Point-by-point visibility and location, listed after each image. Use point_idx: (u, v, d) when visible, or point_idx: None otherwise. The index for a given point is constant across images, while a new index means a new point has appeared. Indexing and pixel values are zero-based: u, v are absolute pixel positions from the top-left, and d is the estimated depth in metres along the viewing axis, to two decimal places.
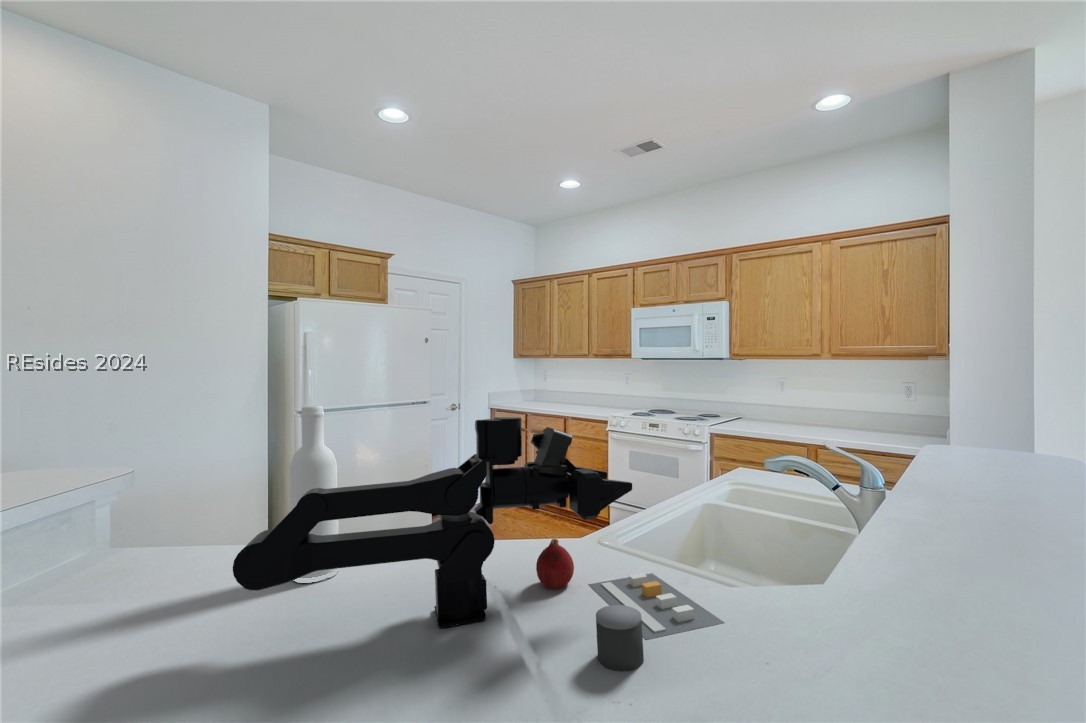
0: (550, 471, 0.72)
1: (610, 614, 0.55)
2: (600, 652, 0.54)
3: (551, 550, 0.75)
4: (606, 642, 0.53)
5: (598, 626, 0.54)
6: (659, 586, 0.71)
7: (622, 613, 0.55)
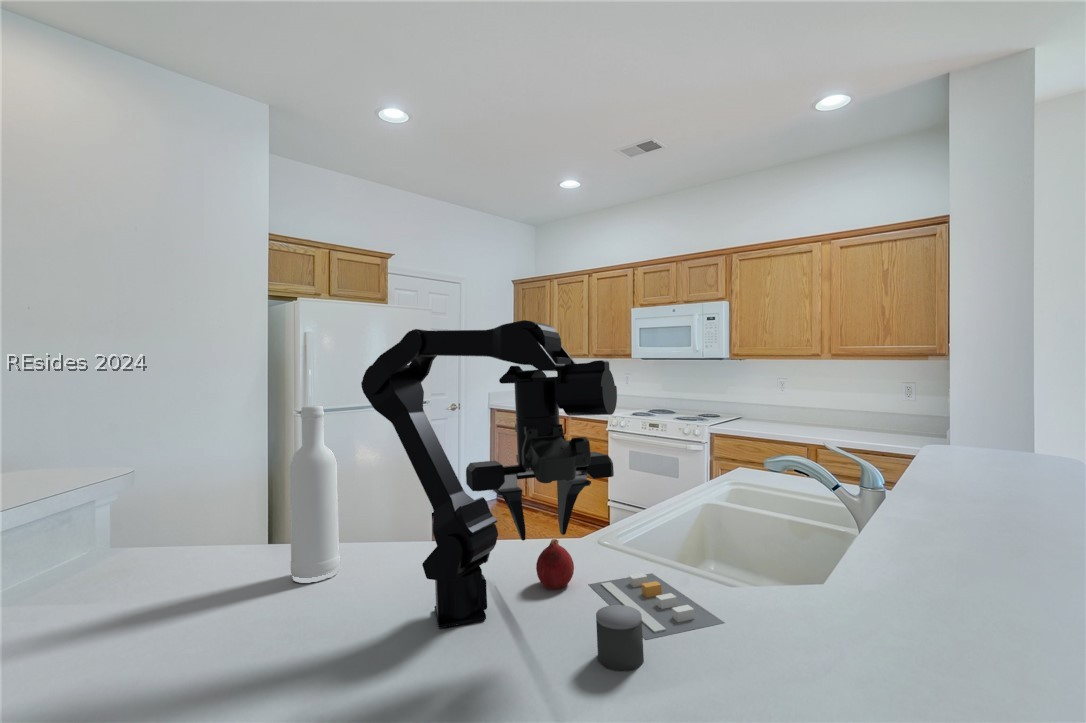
0: (522, 448, 0.62)
1: (610, 614, 0.55)
2: (600, 652, 0.54)
3: (551, 550, 0.75)
4: (606, 642, 0.53)
5: (598, 626, 0.54)
6: (659, 586, 0.71)
7: (622, 613, 0.55)
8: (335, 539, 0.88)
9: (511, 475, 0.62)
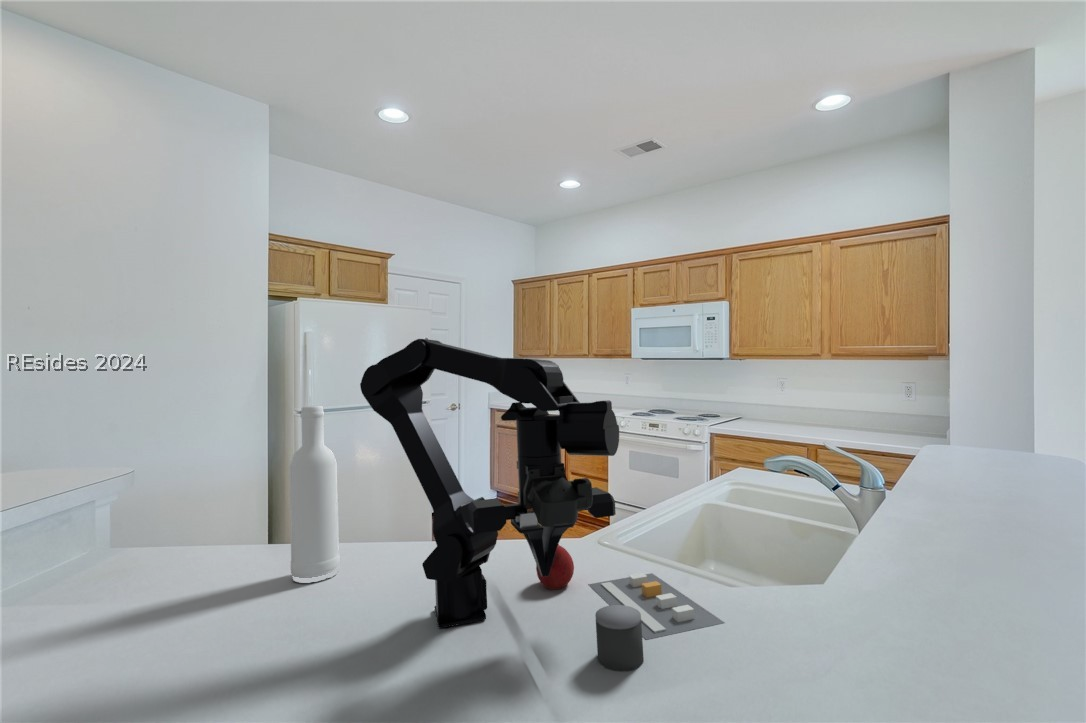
0: (524, 488, 0.62)
1: (610, 614, 0.55)
2: (600, 652, 0.54)
3: None
4: (606, 642, 0.53)
5: (598, 626, 0.54)
6: (659, 586, 0.71)
7: (621, 613, 0.55)
8: (335, 539, 0.88)
9: (532, 513, 0.62)
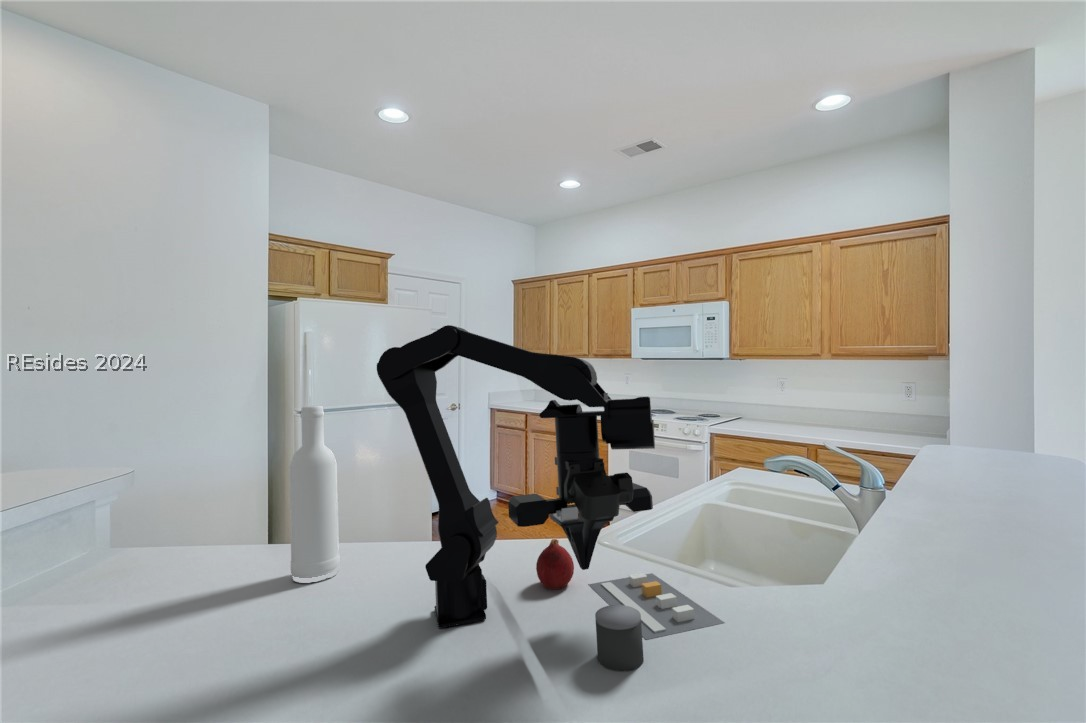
0: (565, 482, 0.63)
1: (609, 614, 0.55)
2: (600, 652, 0.54)
3: (551, 550, 0.75)
4: (605, 642, 0.53)
5: (597, 626, 0.54)
6: (659, 586, 0.71)
7: (621, 613, 0.55)
8: (335, 539, 0.88)
9: (573, 507, 0.64)
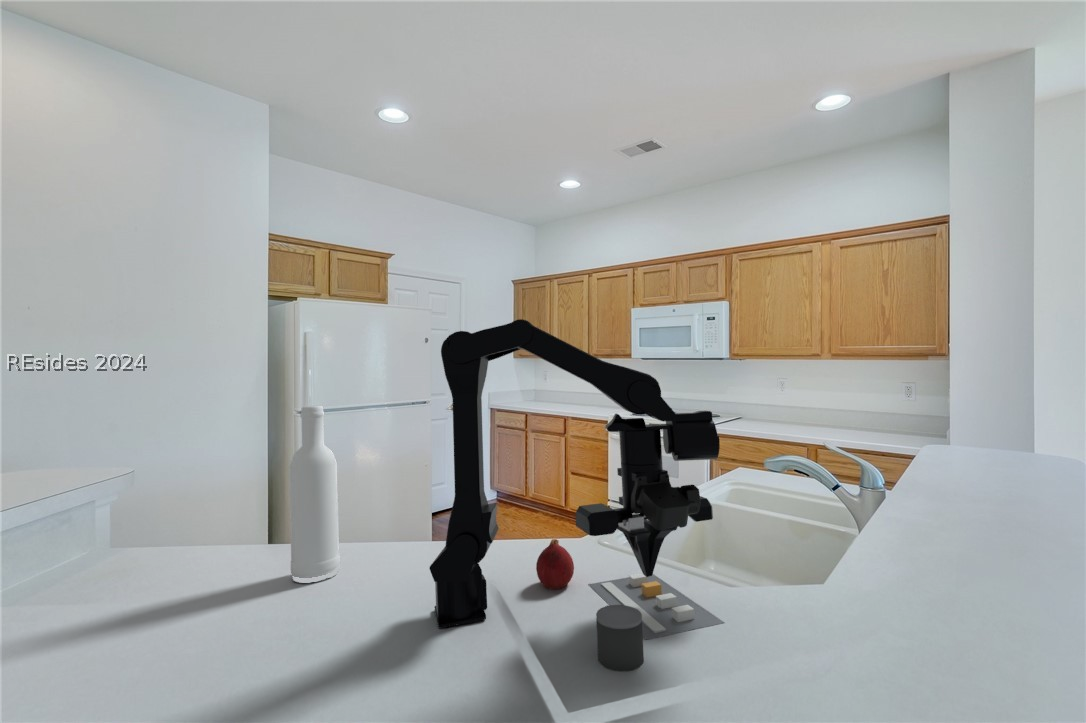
0: (632, 493, 0.66)
1: (610, 613, 0.55)
2: (600, 652, 0.54)
3: (551, 550, 0.75)
4: (606, 641, 0.53)
5: (598, 625, 0.54)
6: (659, 586, 0.71)
7: (622, 613, 0.55)
8: (335, 539, 0.88)
9: (640, 517, 0.67)
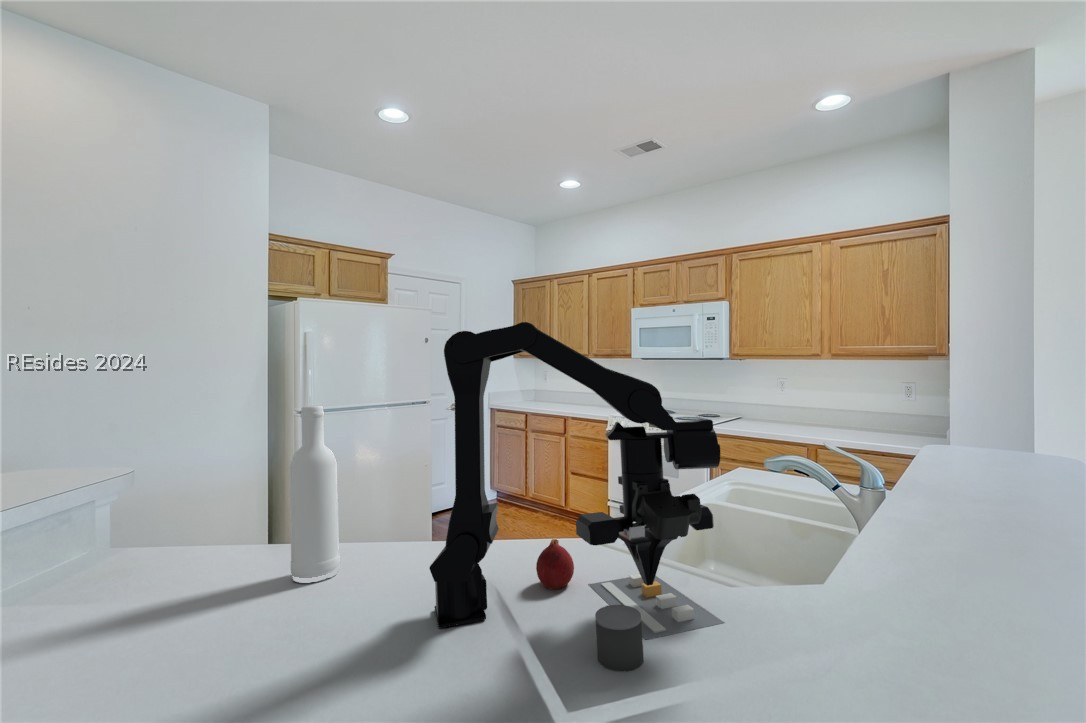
0: (633, 502, 0.66)
1: (610, 614, 0.55)
2: (599, 652, 0.54)
3: (551, 550, 0.75)
4: (605, 642, 0.53)
5: (597, 626, 0.54)
6: (659, 586, 0.71)
7: (621, 613, 0.55)
8: (335, 539, 0.88)
9: (640, 526, 0.66)
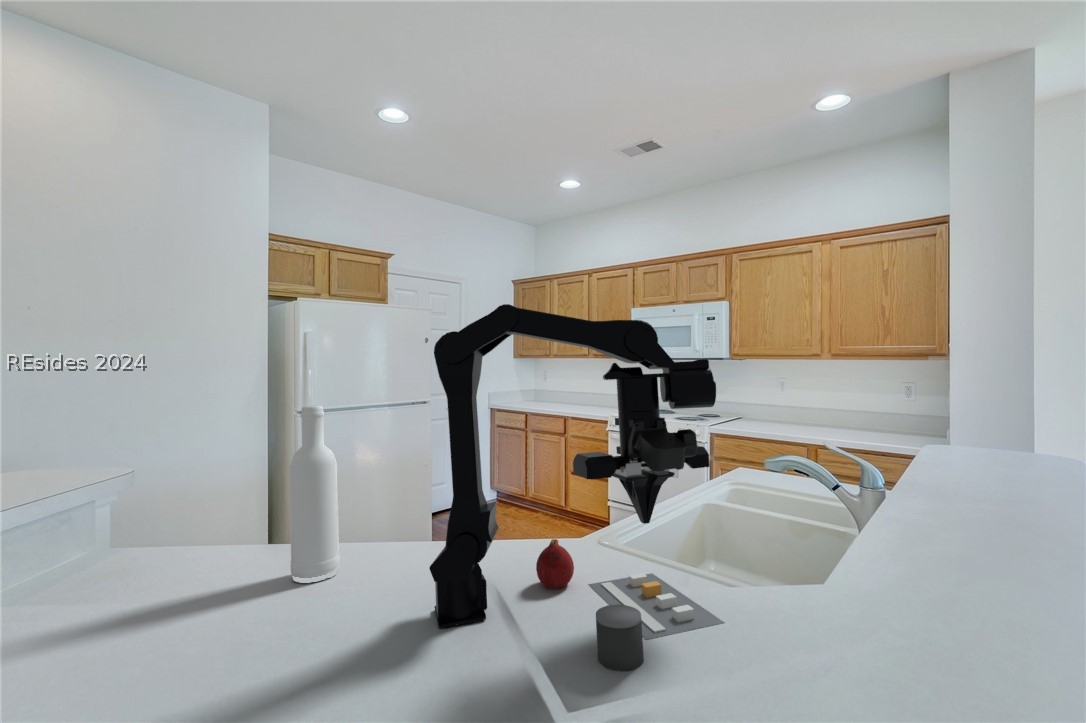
0: (629, 439, 0.67)
1: (610, 613, 0.55)
2: (599, 651, 0.54)
3: (551, 550, 0.75)
4: (605, 641, 0.53)
5: (597, 625, 0.54)
6: (659, 586, 0.71)
7: (622, 613, 0.55)
8: (335, 539, 0.88)
9: (637, 463, 0.67)
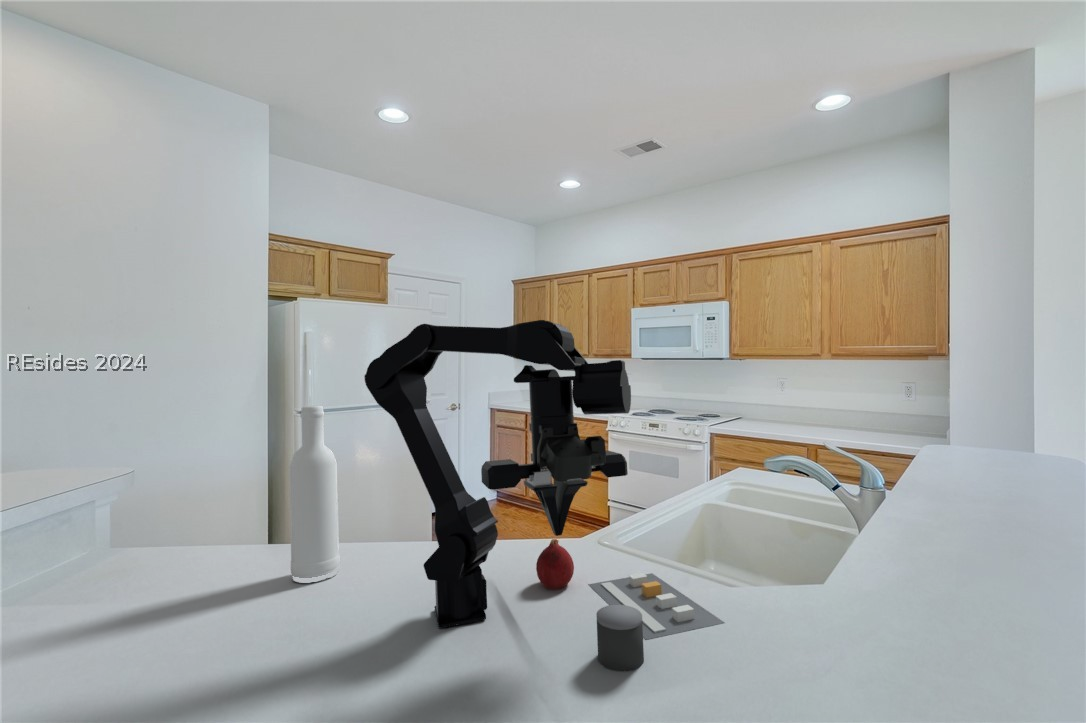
0: (538, 446, 0.63)
1: (611, 613, 0.55)
2: (599, 651, 0.54)
3: (551, 550, 0.75)
4: (605, 641, 0.53)
5: (598, 625, 0.54)
6: (659, 586, 0.71)
7: (623, 613, 0.55)
8: (335, 539, 0.88)
9: (546, 472, 0.63)
